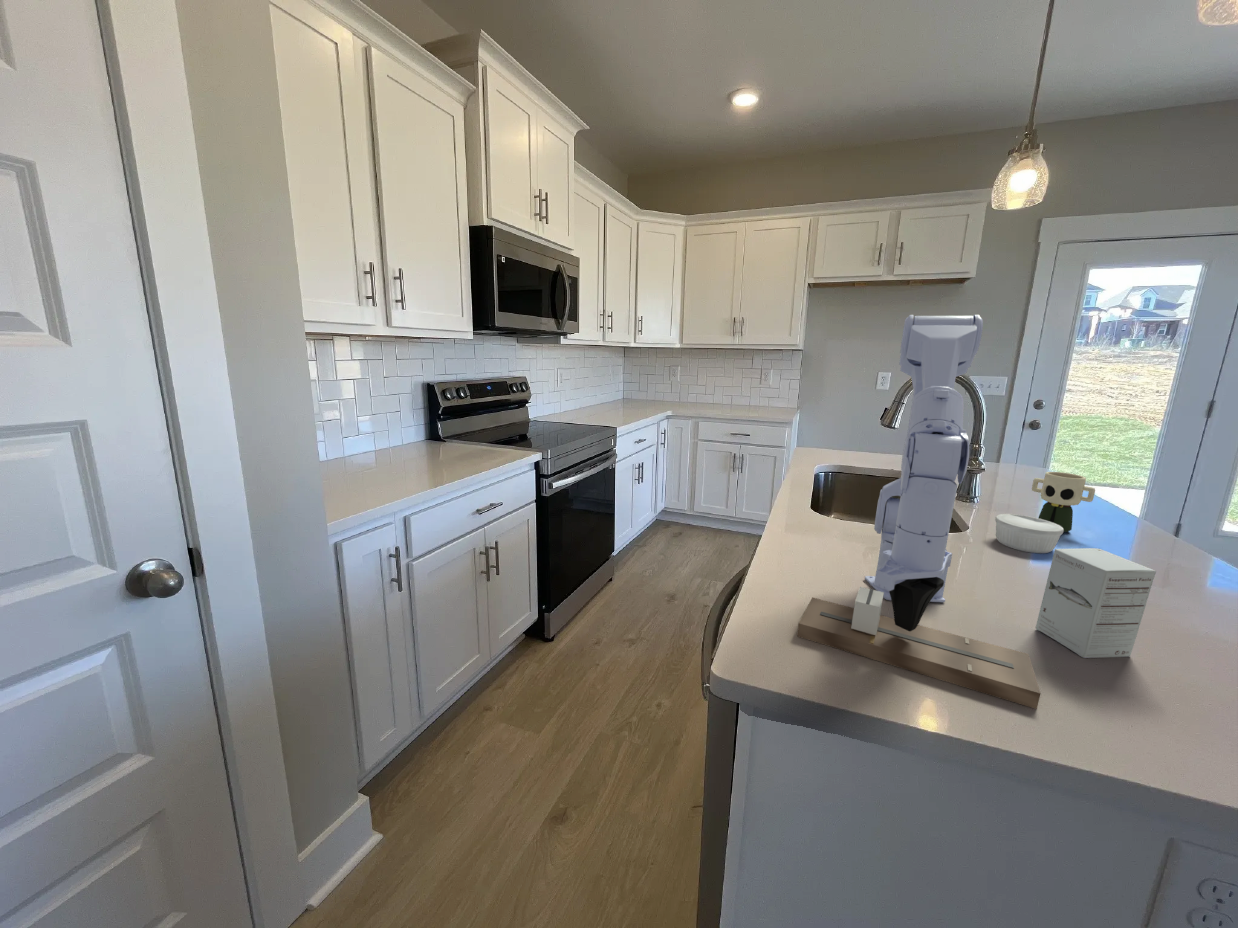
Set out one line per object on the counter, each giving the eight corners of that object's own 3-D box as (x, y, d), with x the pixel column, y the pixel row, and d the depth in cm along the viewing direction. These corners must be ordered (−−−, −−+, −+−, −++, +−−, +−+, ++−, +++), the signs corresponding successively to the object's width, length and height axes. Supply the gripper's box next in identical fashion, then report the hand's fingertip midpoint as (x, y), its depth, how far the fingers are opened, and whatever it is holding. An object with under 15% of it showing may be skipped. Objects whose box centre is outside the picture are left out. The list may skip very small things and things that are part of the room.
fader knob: (879, 618, 70) (883, 591, 69) (876, 635, 66) (880, 606, 65) (856, 612, 72) (860, 586, 71) (851, 628, 68) (855, 600, 67)
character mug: (1019, 525, 119) (1030, 471, 116) (1028, 520, 123) (1040, 468, 121) (1079, 539, 111) (1093, 482, 108) (1087, 533, 115) (1101, 478, 112)
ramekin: (1053, 543, 108) (1058, 520, 107) (1063, 560, 99) (1069, 535, 98) (989, 532, 114) (994, 510, 113) (993, 547, 105) (998, 523, 104)
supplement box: (1032, 629, 73) (1051, 547, 71) (1079, 627, 74) (1100, 546, 71) (1082, 659, 66) (1105, 569, 63) (1133, 658, 67) (1159, 569, 64)
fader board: (1025, 667, 64) (1028, 653, 64) (1036, 708, 56) (1040, 692, 56) (810, 609, 77) (812, 596, 77) (797, 636, 70) (798, 622, 69)
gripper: (919, 511, 70) (904, 600, 73) (857, 528, 63) (843, 627, 66) (976, 526, 65) (957, 622, 68) (915, 547, 57) (897, 654, 60)
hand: (905, 626), depth 66 cm, fingers closed
